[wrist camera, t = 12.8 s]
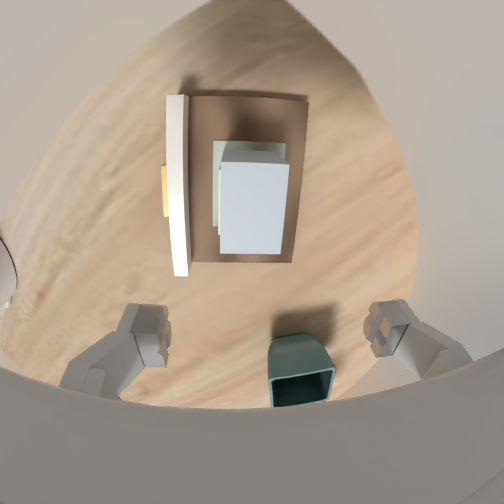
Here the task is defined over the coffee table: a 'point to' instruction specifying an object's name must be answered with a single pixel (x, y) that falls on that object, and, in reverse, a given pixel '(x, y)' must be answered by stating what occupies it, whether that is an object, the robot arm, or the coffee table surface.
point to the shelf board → (240, 138)
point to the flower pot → (299, 371)
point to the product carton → (251, 201)
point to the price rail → (177, 182)
